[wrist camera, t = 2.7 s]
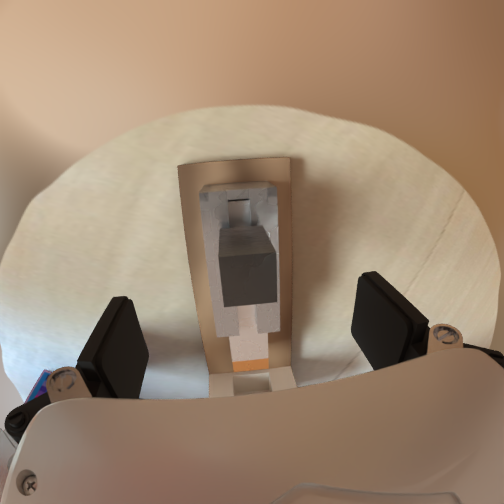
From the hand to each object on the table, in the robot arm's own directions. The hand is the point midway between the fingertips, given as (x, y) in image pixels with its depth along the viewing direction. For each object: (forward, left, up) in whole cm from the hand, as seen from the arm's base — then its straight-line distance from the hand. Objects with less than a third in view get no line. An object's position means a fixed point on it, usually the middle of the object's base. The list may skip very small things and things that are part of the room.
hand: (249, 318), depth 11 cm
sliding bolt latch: (0, +6, -15) cm, 16 cm away
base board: (0, +10, -17) cm, 20 cm away
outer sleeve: (0, +2, -16) cm, 16 cm away
